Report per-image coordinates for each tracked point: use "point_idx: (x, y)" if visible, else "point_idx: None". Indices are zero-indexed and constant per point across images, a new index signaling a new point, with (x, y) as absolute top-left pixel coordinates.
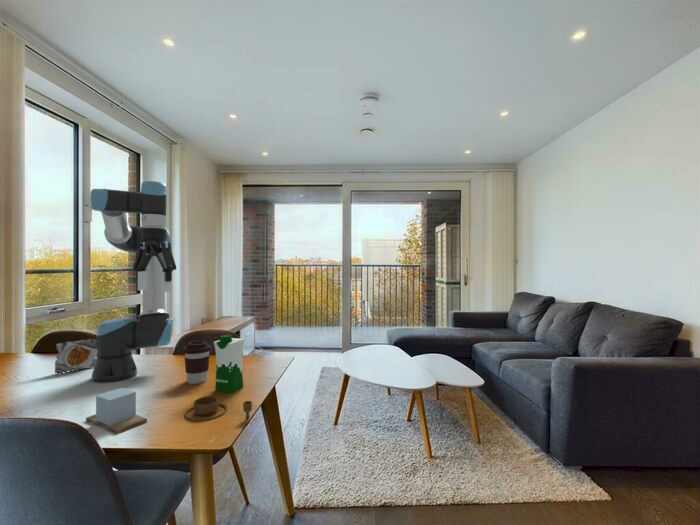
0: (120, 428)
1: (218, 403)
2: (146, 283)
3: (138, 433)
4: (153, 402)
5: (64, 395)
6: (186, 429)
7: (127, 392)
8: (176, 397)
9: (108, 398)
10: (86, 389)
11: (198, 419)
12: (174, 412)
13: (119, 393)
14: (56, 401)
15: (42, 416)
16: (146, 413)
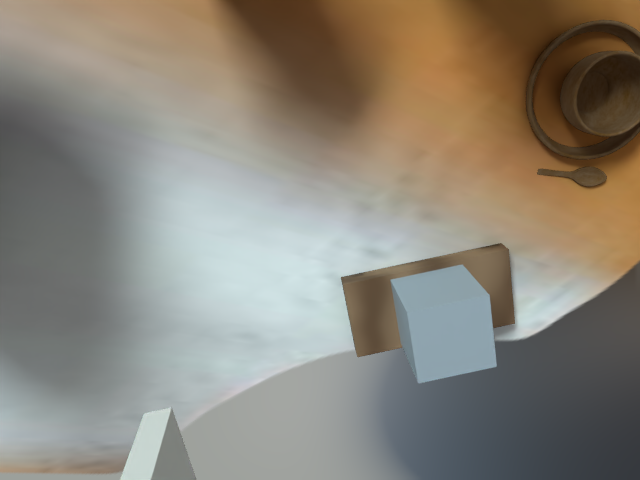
0: (510, 314)
1: (578, 28)
2: (157, 472)
3: (531, 273)
4: (342, 168)
5: (29, 351)
6: (622, 180)
7: (472, 314)
8: (360, 91)
9: (478, 365)
10: (5, 290)
11: (627, 141)
12: (484, 154)
13: (460, 333)
14: (82, 375)
15: (200, 414)
16: (418, 216)
